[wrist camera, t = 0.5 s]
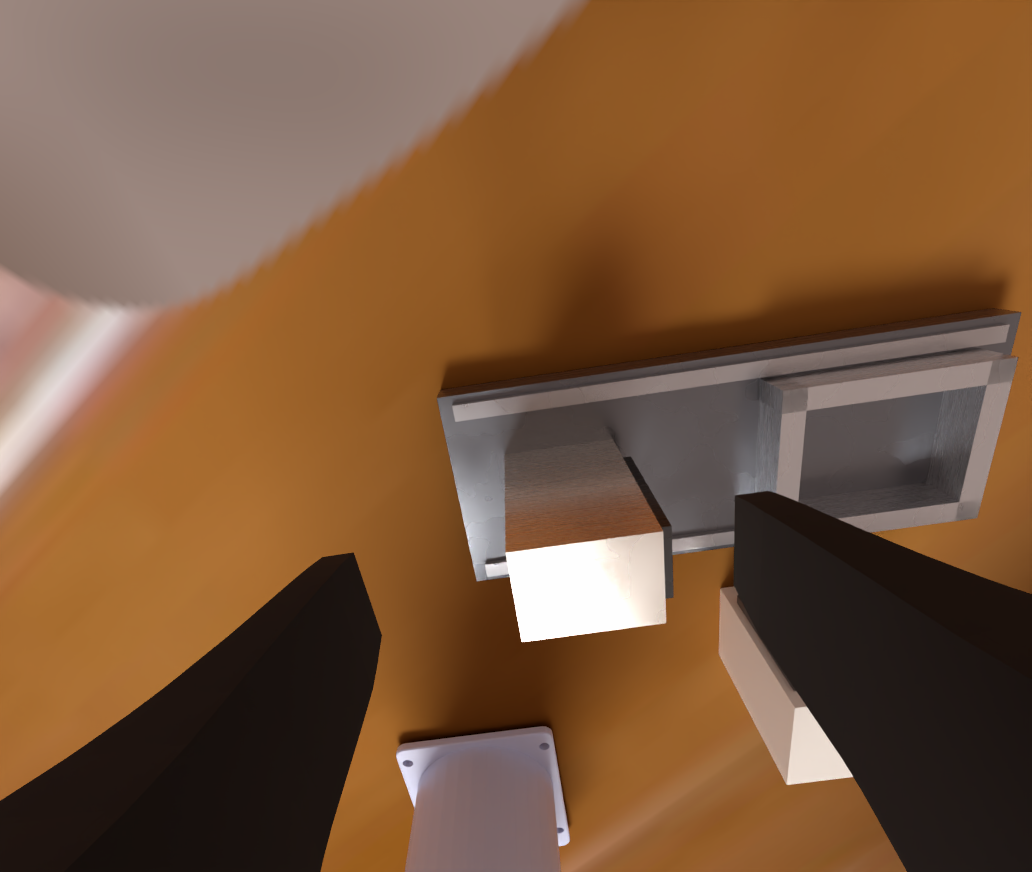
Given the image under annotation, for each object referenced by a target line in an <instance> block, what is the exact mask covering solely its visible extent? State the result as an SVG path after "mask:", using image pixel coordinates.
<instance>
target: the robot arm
mask: <svg viewBox="0 0 1032 872" xmlns="http://www.w3.org/2000/svg"><path fill="white" fill-rule="evenodd" d="M734 587H735V589H736V591H737V593H738V595H739V597H740V599H741V601H742V603H743V605H744V607H745V609H746V611H747V613H748V615H749V617H750V619H751V621H752V623H753V625H754V627H755V629H756V630H757V632H758V634H759V636H760V637H761V639H762V640H763V642H764V644H765V645H766V647H767V648H768V650H769V651H770V653H771V654H772V656H773V657H774V659H775V660H776V662H777V663H778V665H779V666H780V668H781V669H782V671H783V672H784V674H785V675H786V677H787V678H788V680H789V681H790V683H791V684H792V686H793V687H794V688H795V690H796V691H797V693H798V694H799V696H800V697H801V699H802V700H803V702H804V703H805V705H806V706H807V708H808V709H809V711H810V712H811V714H812V715H813V717H814V718H815V720H816V721H817V722H818V724H819V725H820V727H821V728H822V730H823V731H824V733H825V734H826V736H827V737H828V739H829V740H830V742H831V743H832V745H833V746H834V748H835V749H836V751H837V752H838V754H839V755H840V757H841V758H842V760H843V761H844V763H845V764H846V766H847V768H848V769H849V771H850V772H851V774H852V776H853V777H854V779H855V780H856V782H857V784H858V785H859V787H860V788H861V790H862V792H863V793H864V795H865V797H866V799H867V801H868V802H869V804H870V806H871V808H872V810H873V811H874V813H875V815H876V817H877V818H878V820H879V822H880V824H881V826H882V827H883V829H884V831H885V833H886V835H887V836H888V838H889V840H890V842H891V844H892V845H893V847H894V849H895V851H896V852H897V854H898V856H899V858H900V860H901V861H902V863H903V865H904V867H905V869H906V871H907V872H1032V594H1029V593H1026V592H1023V591H1020V590H1017V589H1014V588H1011V587H1008V586H1006V585H1003V584H1000V583H997V582H994V581H991V580H988V579H986V578H983V577H980V576H978V575H975V574H972V573H970V572H967V571H964V570H962V569H959V568H956V567H954V566H951V565H949V564H946V563H943V562H941V561H938V560H935V559H933V558H930V557H928V556H925V555H923V554H920V553H918V552H915V551H913V550H910V549H908V548H905V547H903V546H900V545H898V544H895V543H893V542H891V541H888V540H886V539H883V538H881V537H879V536H876V535H874V534H872V533H869V532H867V531H865V530H862V529H860V528H858V527H855V526H853V525H851V524H848V523H846V522H844V521H841V520H839V519H837V518H835V517H832V516H830V515H828V514H825V513H823V512H821V511H819V510H816V509H814V508H812V507H809V506H807V505H805V504H802V503H800V502H798V501H795V500H793V499H790V498H788V497H785V496H783V495H780V494H777V493H774V492H771V491H761V492H755V493H748V494H741V495H735V524H734ZM381 637H382V635H381V632H380V629H379V626H378V623H377V620H376V617H375V614H374V611H373V608H372V605H371V602H370V599H369V596H368V593H367V591H366V588H365V585H364V582H363V579H362V576H361V573H360V570H359V567H358V564H357V561H356V558H355V555H354V553H348V554H341V555H334V556H328V557H322V558H321V559H319V560H318V561H317V562H315V563H314V564H313V565H311V566H310V567H309V568H307V569H306V570H305V571H304V572H303V573H301V574H300V575H299V576H298V577H297V578H295V579H294V580H293V581H292V582H291V583H289V584H288V585H287V586H286V587H285V588H284V589H283V590H281V591H280V592H279V593H278V594H277V595H276V596H274V597H273V598H272V599H271V600H270V601H269V602H267V603H266V604H265V605H264V606H263V607H262V608H261V609H259V610H258V611H257V612H256V613H255V614H254V615H252V616H251V617H250V618H249V619H248V620H247V621H245V622H244V623H243V624H242V625H241V626H240V627H238V628H237V629H236V630H235V631H234V632H233V633H231V634H230V635H229V636H228V637H227V638H225V639H224V640H223V641H222V642H220V643H219V644H218V645H217V646H216V647H214V648H213V649H212V650H211V651H209V652H208V653H207V654H206V655H204V656H203V657H202V658H201V659H199V660H198V661H197V662H196V663H194V664H193V665H192V666H191V667H190V668H188V669H187V670H186V671H185V672H183V673H182V674H181V675H180V676H178V677H177V678H176V679H175V680H173V681H172V682H171V683H170V684H168V685H167V686H166V687H165V688H163V689H162V690H161V691H159V692H158V693H157V694H155V695H154V696H153V697H152V698H150V699H149V700H148V701H146V702H145V703H143V704H142V705H141V706H139V707H138V708H137V709H135V710H134V711H133V712H131V713H130V714H129V715H127V716H126V717H124V718H123V719H122V720H120V721H119V722H117V723H116V724H115V725H113V726H112V727H110V728H109V729H108V730H106V731H105V732H103V733H102V734H101V735H99V736H98V737H96V738H95V739H93V740H92V741H91V742H89V743H88V744H86V745H85V746H84V747H82V748H81V749H79V750H78V751H76V752H75V753H73V754H72V755H70V756H69V757H67V758H66V759H64V760H63V761H61V762H60V763H58V764H57V765H55V766H54V767H52V768H51V769H49V770H47V771H46V772H44V773H43V774H41V775H40V776H38V777H37V778H35V779H33V780H32V781H30V782H29V783H27V784H26V785H24V786H23V787H21V788H20V789H18V790H16V791H15V792H13V793H12V794H10V795H9V796H7V797H6V798H4V799H3V800H1V801H0V872H320V871H321V867H322V862H323V858H324V854H325V850H326V846H327V842H328V839H329V835H330V831H331V827H332V824H333V820H334V817H335V814H336V810H337V807H338V804H339V801H340V797H341V794H342V791H343V787H344V784H345V781H346V777H347V774H348V771H349V768H350V764H351V761H352V758H353V754H354V751H355V748H356V744H357V741H358V738H359V735H360V731H361V728H362V724H363V721H364V718H365V714H366V711H367V707H368V704H369V701H370V697H371V693H372V690H373V685H374V680H375V674H376V669H377V663H378V657H379V650H380V644H381ZM396 758H397V761H398V764H399V766H400V769H401V772H402V775H403V778H404V780H405V783H406V786H407V789H408V792H409V794H410V797H411V800H412V803H413V806H414V808H415V809H414V816H413V822H412V829H411V836H410V842H409V849H408V855H407V862H406V868H405V872H561V866H560V856H559V846H563V845H566V844H568V842H569V841H570V835H569V829H568V823H567V817H566V811H565V805H564V799H563V793H562V787H561V781H560V775H559V769H558V763H557V757H556V751H555V745H554V739H553V733H552V730H551V729H550V728H548V727H546V726H539V727H531V728H523V729H515V730H507V731H499V732H491V733H483V734H475V735H467V736H460V737H452V738H444V739H436V740H428V741H420V742H412V743H404V744H401V745H400V746H399V747H398V748H397V752H396Z"/></svg>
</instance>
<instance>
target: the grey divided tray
mask: <svg viewBox="0 0 1032 872" xmlns="http://www.w3.org/2000/svg"><path fill="white" fill-rule="evenodd" d="M1020 316H1021V312H1016V311H1009V310H1002V309H995V308H992V309H985V310H978V311H972V312H965V313H958V314H951V315H944V316H938V317H931V318H924V319H917V320H910V321H904V322H897V323H890V324H883V325H877V326H870V327H863V328H856V329H849V330H843V331H836V332H829V333H822V334H815V335H809V336H802V337H795V338H788V339H781V340H775V341H768V342H761V343H754V344H748V345H741V346H734V347H727V348H720V349H714V350H707V351H700V352H693V353H686V354H680V355H673V356H666V357H659V358H653V359H646V360H639V361H632V362H625V363H619V364H612V365H605V366H598V367H591V368H585V369H578V370H571V371H564V372H558V373H551V374H544V375H537V376H530V377H524V378H517V379H510V380H503V381H496V382H490V383H483V384H476V385H469V386H463V387H456V388H449V389H442V390H440V392H439V394H438V397H437V401H438V405H439V410H440V415H441V419H442V424H443V428H444V433H445V438H446V442H447V447H448V451H449V456H450V461H451V465H452V470H453V475H454V479H455V484H456V488H457V493H458V498H459V502H460V507H461V511H462V516H463V521H464V525H465V530H466V534H467V539H468V544H469V548H470V553H471V557H472V562H473V567H474V571H475V576H476V580H477V581H483V580H491V579H498V578H506V577H510V580H511V585H512V591H513V596H514V602H515V607H516V613H517V618H518V624H519V629H520V634H521V640H522V642H526V641H533V640H541V639H549V638H556V637H564V636H572V635H579V634H587V633H595V632H602V631H610V630H618V629H625V628H633V627H640V626H648V625H656V624H663V623H666V600H665V599H666V598H673V559H672V555H676V554H683V553H691V552H698V551H705V550H713V549H720V548H728V547H734V524H735V495H741V494H748V493H755V492H761V491H771V492H774V493H777V494H780V495H783V496H785V497H788V498H790V499H793V500H795V501H798V502H800V503H802V504H805V505H807V506H809V507H812V508H814V509H816V510H819V511H821V512H823V513H825V514H828V515H830V516H832V517H835V518H837V519H839V520H841V521H844V522H846V523H848V524H851V525H853V526H855V527H858V528H860V529H862V530H865V531H867V532H869V533H870V532H877V531H884V530H892V529H899V528H907V527H914V526H922V525H929V524H936V523H944V522H951V521H959V520H966V519H974V518H977V516H978V512H979V508H980V505H981V501H982V497H983V493H984V489H985V485H986V481H987V477H988V473H989V470H990V466H991V462H992V458H993V454H994V450H995V446H996V442H997V438H998V435H999V431H1000V427H1001V423H1002V419H1003V415H1004V411H1005V407H1006V403H1007V400H1008V396H1009V392H1010V388H1011V384H1012V380H1013V376H1014V372H1015V368H1016V364H1017V361H1018V357H1015V356H1011V352H1012V348H1013V344H1014V340H1015V336H1016V332H1017V328H1018V324H1019V320H1020Z"/></svg>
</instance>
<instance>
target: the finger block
mask: <svg viewBox="0 0 1032 872" xmlns="http://www.w3.org/2000/svg"><path fill="white" fill-rule="evenodd" d="M719 656H720V658H721V660H722V662H723V663H724V665H725V667H726V669H727V671H728V673H729V675H730V677H731V679H732V681H733V683H734V685H735V686H736V688H737V690H738V692H739V694H740V696H741V698H742V700H743V702H744V704H745V706H746V708H747V710H748V711H749V713H750V715H751V717H752V719H753V721H754V723H755V725H756V727H757V729H758V731H759V733H760V735H761V736H762V738H763V740H764V742H765V744H766V746H767V748H768V750H769V752H770V754H771V756H772V758H773V759H774V761H775V763H776V765H777V767H778V769H779V771H780V773H781V775H782V777H783V779H784V781H785V783H786V784H787V785H790V784H798V783H807V782H815V781H823V780H832V779H840V778H848V777H853V776H852V774H851V772H850V771H849V769H848V768H847V766H846V764H845V763H844V761H843V760H842V758H841V757H840V755H839V754H838V752H837V751H836V749H835V748H834V746H833V745H832V743H831V742H830V740H829V739H828V737H827V736H826V734H825V733H824V731H823V730H822V728H821V727H820V725H819V724H818V722H817V721H816V720H815V718H814V717H813V715H812V714H811V712H810V711H809V709H808V708H807V706H806V705H805V703H804V702H803V700H802V699H801V697H800V696H799V694H798V693H797V691H796V690H795V688H794V687H793V686H792V684H791V683H790V681H789V680H788V678H787V677H786V675H785V674H784V672H783V671H782V669H781V668H780V666H779V665H778V663H777V662H776V660H775V659H774V657H773V656H772V654H771V653H770V651H769V650H768V648H767V647H766V645H765V644H764V642H763V640H762V639H761V637H760V636H759V634H758V632H757V630H756V629H755V627H754V625H753V623H752V621H751V619H750V617H749V615H748V613H747V611H746V609H745V607H744V605H743V603H742V601H741V599H740V597H739V595H738V593H737V591H736V589H735V587H726V588H720V623H719Z"/></svg>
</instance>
